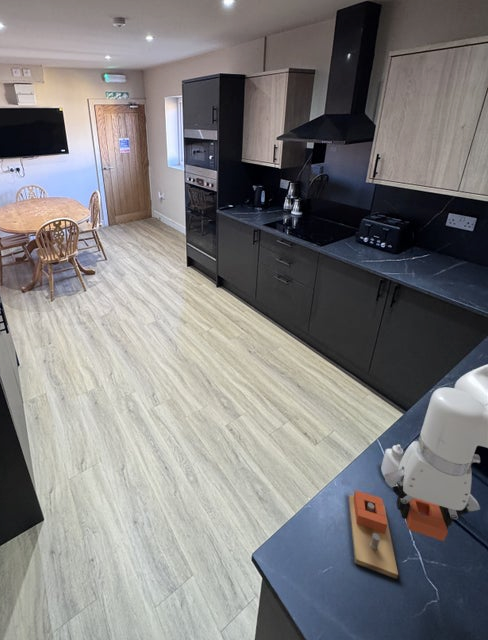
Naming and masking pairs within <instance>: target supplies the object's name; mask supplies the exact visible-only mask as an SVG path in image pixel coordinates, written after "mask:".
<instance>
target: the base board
mask: <svg viewBox="0 0 488 640" xmlns="http://www.w3.org/2000/svg"><path fill="white" fill-rule="evenodd" d="M353 497H354V494H350V493H349V494H348V497H347V500H348V511H349V519H350V528H351V529H350V530H351V536H352V538H351V539H352V546H353V556H354V564H356V565H359V566H361V567H363V568H367V569H370V570H372V571H375V572H377V573H380V574H382V575H385V576H388V577H390V578H393V579H398V577H399V570H398V566H397V561H396V556H395V552H394V547H393V546H394V545H393V541H392V537H391V531H390V526H389V521H388V517H387V512H386V506H385V505H384V511H385V516H386V521H387V528H386V532H385V533H382V532H379V531H376V530H373V529H370V528H367V527H364V526H361V525H358V524H356V516H355V508H354V500H353ZM365 510H366V511H369V512H372V513H373V512H374V505H373V504H372V503H370V502H369V503H368V505H367V509H365Z"/></svg>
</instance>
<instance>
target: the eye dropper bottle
mask: <svg viewBox="0 0 488 640" xmlns="http://www.w3.org/2000/svg"><path fill="white" fill-rule="evenodd" d="M403 456H404V450H403V448H402V446H401V445H400V444H399V443H397V444H396V445H393V446H392V448H385V450H384V454H383V458H382V461H381V466H380V471H381V474H382V476H383V479H385V477H384V475H385V474H388V473H392V472H395V471H398V468H399V465H400V462H401V460H402V458H403ZM402 482H403V481H401V482H398V483H399V485H400V484H401V483H402Z"/></svg>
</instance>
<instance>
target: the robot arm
mask: <svg viewBox="0 0 488 640" xmlns="http://www.w3.org/2000/svg"><path fill="white" fill-rule="evenodd" d="M453 386H454V387H445V386H443V387H439V388H437V389H435V390H434V391H433V392H432V394H431V396H430V400H429V403H428V408H427V410H426V413H425V417H424V420H423V424H422V427H421V431H420V433H419V437H418V441H417V440H413V441H412V442H411V443H410V444H409V445H408V446H407V448H406V450H405V452H404V453H403V455H402V460H401V462H400V465H399V468H398V471H395V472H392V473H388V474H385V475H384V476H383V478H384V477H385V478H384V482H385V484H387V485H388V486H389V487H390V488H391V489H392V491H393V493H394V495H396V496H397V499H396V508H397V510H399V511H400V516H401V518H402V519H404V520H406V519H407V516H408V512H409V509H410V504H409V502H410V501H411V500H412V499H414V498H416V499H420V500H423V501H426V502H429V503H433V504H436V505H439V507H440V510H441V513H442V516H443V519H444V522H445V524H446V527H447V530H448V529H449V527H450V526H451V525H452V524H453V521H454V520H458V518H459V516H461V515H466V514H468V513H469V512H474V511H479V510H481V506H480V504H479V502H478V500H477V499H476V498H475V497H474V496H473V495H472V493H471V491H472V479H473V476H472V475H473V473H472V467H471V466H472V464H473V463H476V464H480V463H481V457H480V455H479V454H478V453H475V452H476V450H477V447H483V448H487V449H488V363H487V364H485V365H482V366H479V367H477V368H475V369H472V370H469V371H468V372H466V373H465V374H463V375H462V376H460V377H459V378H458V379H457V380H456V381H455V384H454V385H453ZM401 481H402V483H401V484H400V485H399V483H398V482H401ZM448 531H449V530H448Z"/></svg>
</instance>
